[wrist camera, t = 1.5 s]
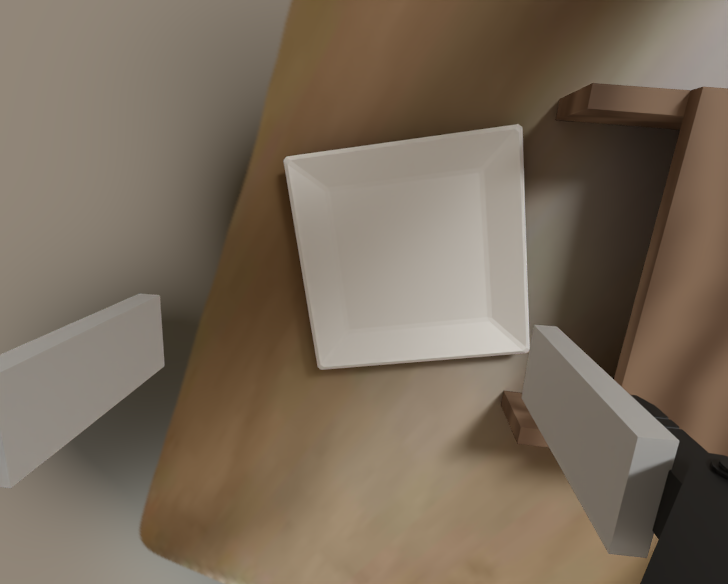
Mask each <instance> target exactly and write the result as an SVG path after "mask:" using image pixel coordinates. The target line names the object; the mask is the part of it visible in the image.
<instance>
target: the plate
mask: <svg viewBox="0 0 728 584" xmlns="http://www.w3.org/2000/svg"><path fill="white" fill-rule="evenodd" d="M283 161H284V167H285V173H286V179H287V185H288V191H289V197H290V203H291V209H292V215H293V221H294V227H295V233H296V239H297V245H298V251H299V257H300V264H301V270H302V276H303V282H304V288H305V294H306V300H307V306H308V312H309V318H310V324H311V330H312V336H313V342H314V348H315V354H316V360H317V366H318V368H319V369H321V370H324V369H337V368H349V367H361V366H374V365H386V364H398V363H410V362H423V361H435V360H447V359H460V358H472V357H484V356H497V355H509V354H521V353H527V352H528V351H529V350H530V341H529V310H528V280H527V250H526V219H525V189H524V159H523V129H522V127H521V126H520V125H519V124H516V125H508V126H501V127H494V128H487V129H480V130H473V131H466V132H458V133H451V134H444V135H437V136H430V137H423V138H415V139H408V140H401V141H394V142H387V143H380V144H373V145H365V146H358V147H351V148H344V149H337V150H330V151H323V152H315V153H308V154H301V155H294V156H287V157H286V158H285V159H284V160H283Z"/></svg>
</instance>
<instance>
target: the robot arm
mask: <svg viewBox="0 0 728 584" xmlns="http://www.w3.org/2000/svg"><path fill="white" fill-rule="evenodd" d="M160 305H161V304H160V295H153V294H140V293H139V294H137V295H135V296H133V297H130V298H128V299H126V300H123V301H121V302H119V303H116V304H114V305H112V306H110V307H107V308H105V309H103V310H101V311H98V312H96V313H94V314H91V315H89V316H87V317H85V318H82V319H80V320H78V321H75V322H73V323H71V324H69V325H66V326H64V327H62V328H60V329H57V330H55V331H53V332H50V333H48V334H46V335H44V336H42V337H39V338H37V339H35V340H32V341H30V342H28V343H26V344H23V345H21V346H19V347H16V348H14V349H12V350H9V351H7V352H5V353H3V354H0V487H5V488H12V487H13V486H15V485H16V484H17V483H18V482H20V481H21V480H22V479H23V478H25V477H26V476H27V475H28V474H30V473H31V472H32V471H33V470H35V469H36V468H37V467H38V466H40V465H41V464H42V463H43V462H45V461H46V460H47V459H48V458H50V457H51V456H52V455H53V454H55V453H56V452H57V451H58V450H60V449H61V448H62V447H63V446H65V445H66V444H67V443H68V442H70V441H71V440H72V439H74V438H75V437H76V436H77V435H79V434H80V433H81V432H82V431H83V430H85V429H86V428H87V427H89V426H90V425H91V424H92V423H93V422H95V421H96V420H97V419H98V418H100V417H101V416H102V415H104V414H105V413H106V412H107V411H109V410H110V409H111V408H112V407H113V406H115V405H116V404H117V403H119V402H120V401H121V400H123V399H124V398H125V397H126V396H128V395H129V394H130V393H131V392H132V391H134V390H135V389H136V388H138V387H139V386H140V385H141V384H143V383H144V382H145V381H146V380H147V379H149V378H150V377H151V376H153V375H154V374H155V373H156V372H158V371H159V370H160V369H161V368H163V367H164V366H165V365H164V351H163V336H162V319H161V306H160ZM521 398H522V400H523V402H524V403H525V405H526V407H527V409H528V411H529V412H530V414H531V416H532V418H533V419H534V421H535V423H536V425H537V427H538V428H539V430H540V432H541V434H542V436H543V437H544V439H545V441H546V443H547V444H548V446H549V448H550V450H551V452H552V453H553V455H554V457H555V459H556V460H557V462H558V464H559V466H560V468H561V469H562V471H563V473H564V475H565V477H566V478H567V480H568V482H569V484H570V485H571V487H572V489H573V491H574V493H575V494H576V496H577V498H578V500H579V502H580V503H581V505H582V507H583V509H584V510H585V512H586V514H587V516H588V518H589V519H590V521H591V523H592V525H593V527H594V528H595V530H596V532H597V534H598V535H599V537H600V539H601V541H602V543H603V544H604V546H605V548H606V550H607V551H608V553H609V554H616V555H625V556H634V557H643V558H647V556H648V552H649V549H650V545H651V542H652V538H653V534H654V533H655V535H656V536H657V538H658V539H659V541H658V543H657V545H656V548H655V550H654V552H653V555H652V557H651V560H650V562H649V564H648V567H647V569H646V571H645V574H644V576H643V579H642V581H641V583H640V584H728V456H725V455H720V454H713V453H708V452H707V451H706V450H705V449H704V448H703V447H702V446H700V445H699V444H698V443H697V442H696V441H695V440H694V439H693V438H691V437H690V436H689V435H688V434H687V433H686V432H685V431H683V430H682V429H679V426H678V425H677V424H676V423H674V422H673V421H672V420H671V419H668V416H666V415H665V414H664V413H663V412H662V411H661V410H660V409H659V408H657V407H656V406H655V405H653V404H651V403H649V402H648V401H646V400H644V399H642V398H640V397H639V396H637V395H630V394H629V393H628V392H627V391H626V390H624V389H623V388H622V387H621V386H620V385H619V384H618V383H617V382H616V381H615V380H614V379H613V378H612V377H610V376H609V375H608V374H607V373H606V372H605V371H604V370H603V369H602V368H601V367H600V366H599V365H598V364H597V363H595V362H594V361H593V360H592V359H591V358H590V357H589V356H588V355H587V354H586V353H585V352H584V351H583V350H582V349H580V348H579V347H578V346H577V345H576V344H575V343H574V342H573V341H572V340H571V339H570V338H569V337H568V336H567V335H565V334H564V333H563V332H562V331H561V330H560V329H559V328H558V327H557V326H545V325H534V326H533V332H532V338H531V344H530V350H529V356H528V362H527V368H526V374H525V380H524V386H523V392H522V397H521Z"/></svg>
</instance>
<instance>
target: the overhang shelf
mask: <svg viewBox="0 0 728 584" xmlns="http://www.w3.org/2000/svg"><path fill="white" fill-rule="evenodd" d="M556 120H564V121H576V122H589V123H601V124H614V125H626V126H638V127H651V128H663V129H676V130H680V132H679V136H678V140H677V143H676V147H675V151H674V155H673V159H672V162H671V166H670V170H669V174H668V177H667V181H666V185H665V189H664V192H663V196H662V200H661V204H660V207H659V211H658V215H657V219H656V223H655V226H654V230H653V234H652V238H651V241H650V245H649V249H648V253H647V256H646V260H645V264H644V268H643V271H642V275H641V279H640V283H639V287H638V290H637V294H636V298H635V302H634V305H633V309H632V313H631V317H630V320H629V324H628V328H627V332H626V335H625V339H624V343H623V347H622V351H621V354H620V358H619V362H618V366H617V369H616V373H615V377H614V380H615V381H616V382H617V383H618V384H619V385H620V386H621V387H622V388H623V389H624V390H626V391H627V392H628V393H629V394H630V395H637V396H639V397H640V398H642V399H644V400H646V401H648V402H649V403H651V404H653V405H655V406H656V407H657V408H659V409H660V410H661V411H662V412H663V413H664V414H665V415H666V416H668V419H671V420H672V421H673V422H674V423H676V424H677V425H678V426H679V429H682V430H683V431H685V432H686V433H687V434H688V435H689V436H690V437H691V438H693V439H694V440H695V441H696V442H697V443H698V444H699V445H700V446H702V447H703V448H704V449H705V450H706V451H707V452H708V453H713V454H720V455H725V456H728V89H726V88H713V87H701V88H698V89H694V90H691V91H690V90H677V89H663V88H650V87H637V86H623V85H610V84H597V83H592V84H590V85H588V86H586V87H584V88H582V89H580V90H578V91H576V92H573V93H571V94H569V95H567V96H565V97H563V98H561V99H560V101H559V106H558V111H557V116H556ZM521 397H522V393H518V392H510V391H504V392H503V398H502V403H501V406H502V409H503V411H504V413H505V416H506V418H507V420H508V423H509V425H510V427H511V430H512V432H513V434H514V437H515V439H516V441H517V444H524V445H532V446H540V447H549V446H548V444H547V443H546V441H545V439H544V437H543V436H542V434H541V432H540V430H539V428H538V427H537V425H536V423H535V421H534V419H533V418H532V416H531V414H530V412H529V411H528V409H527V407H526V405H525V403H524V402H523V400H522V398H521Z"/></svg>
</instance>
